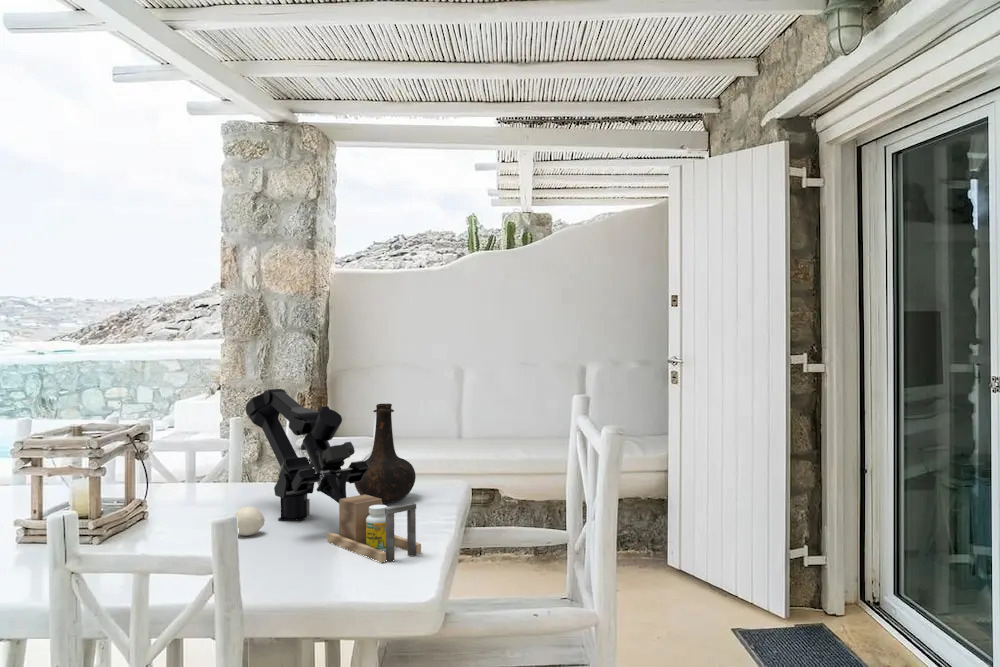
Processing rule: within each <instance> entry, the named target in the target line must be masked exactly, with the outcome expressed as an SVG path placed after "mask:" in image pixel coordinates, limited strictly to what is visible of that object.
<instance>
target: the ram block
mask: <svg viewBox="0 0 1000 667" xmlns="http://www.w3.org/2000/svg"><path fill="white" fill-rule="evenodd" d="M372 505H383V503H382V499H380V498H377V497H373V496H369V495H366V494H364V495H360V494H358V495H353V496H348V497H346V498H342V499H339V503H338V506H339V508H338V511H339V516H338V517H339V518H338V519H339V520H338V521H339V522H338V523H339V524H338V525H339V528H338V529H339V534H338V535H340V536H343V537H345V538H348V539H351V540H353V541H356V542H359V543H362V544H364V545H366V518H367V517H368V516H369V515H370V514H369V507H370V506H372Z"/></svg>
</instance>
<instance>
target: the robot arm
mask: <svg viewBox="0 0 1000 667" xmlns="http://www.w3.org/2000/svg"><path fill="white" fill-rule="evenodd" d="M318 410H319V411H317V410H315V409H313V408H307V407H304V406H302V405H301V404H300V403H299V402H297V401H296V400H295V399H294V398H292V397H291V396H290V395H289V394H288V393H287V392H286V390H285V389H283V388H271V389H270V388H268V389H266V390H264V392H263V393H261V394H258V395H256V396H254V397H252V398H251V399H250V400H249V401H248V402H247V403H246V405H245V412H246V414H247V416H248V418H249V419H250V421H251V423H253V424H254V425H256V426H257V427H259V428H260V429H262V431H263V433H264V435H265V437H266V440H267V442H268V444H269V445H270V447H271V450H272V452H273V454H274V456H275V458H276V460H277V462H278V464H279V466H280V469H279V472H278V473H279V474H278V479H277V482H276V483H275V486H273V487H274V488H273V490H274V495H275V496H276V497H279V498H280V517H278V521H281V522H284V521H285V522H286V521H287V522H288V521H290V522H291V521H293V522H294V521H295V522H297V521H298V522H299V521H304V520H305V519H306V518H308V517H309V516H310V515H311V514H310V512H311V511H310V509H311V505H310V498H308V495H309V494H313V492H314V489H315V483H316V484H317V488H316V491H317V492H318V493H319V492H320V493H322V494H324V495H326V496H328V497H329V498H331V499H332V500H334V502H336V503H338V504H339V499H342V498H347V483H349V484H354V483H357V482H360V481H362V480H363V478H364V476H365V475H366V473H367V472H368V470H369V466H368V464H367V462H366V460H357V461H351V463H350V464H349V466H348V467H345V468H341V467H343V466H344V465H345V461H346V459H349V458H351V456H353V455H354V454H355V452H356V451H355V446H354V444H353V443H352V441H346V442H344V443H342V444H337V445H336V444H335V445H332V446H331V445H330V442H329V441H331V440H332V439H333V438H334V437H335V435H336V433H337V431H338V430H339V428H340V426H341V424H342V422H343V417H342V415H341V414H339V413H338V412H337V411H336V410H334V409H331V408H330V407H329V406H328V405H326V406H320V408H319V409H318ZM280 415H281V416H283V417H284V418H285V419H286V420H287V421H288V428H289V429H290V430H291V432H292V433H293V434H294V436H304V438H303V439H302V443H301V444H300V451H306V453H307V455H308V457H309V458H308V457H306V456H301V457H299V456H298V454H297V453H296V451H295V449H294V447H293V445H292V442H291V440H290V439H289V437H288V435H287V433H286V431H285V429H284V427H283V425H282V423H281V421H280V419H279V418H280ZM309 459H310V461H309Z"/></svg>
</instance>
